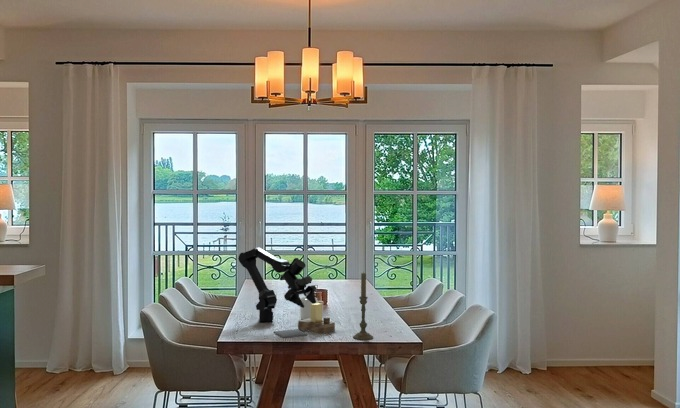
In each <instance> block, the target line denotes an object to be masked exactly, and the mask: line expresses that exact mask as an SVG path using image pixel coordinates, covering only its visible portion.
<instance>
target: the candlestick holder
mask: <svg viewBox="0 0 680 408" xmlns="http://www.w3.org/2000/svg"><path fill="white" fill-rule="evenodd" d="M360 280H361V282H360V284H361V285H360V296H359V303H360V305H361V309H360V311H361V321H360V322H359V324H358V325H359V327H360V330H359V332H357V333H355V334H354V335H353V337H352V338H353V339H354V340H357V341H359V340H360V341H369V340H373V339H374V336H373V335H371V334H370V333H369V332H367V331H366V328H367V325H368V323H367V322H366V319H365V318H366V310H367V309H366V304H367V303H368V296H367V273H365V272H364V271H363V272H361V274H360Z"/></svg>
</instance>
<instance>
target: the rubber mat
mask: <svg viewBox="0 0 680 408" xmlns="http://www.w3.org/2000/svg"><path fill="white" fill-rule="evenodd" d="M273 334H275V335H276V336H278V337H280V338H282V339H288V338H289V339H290V338H296V337H299V338H300V337H306V336H308V334H307V333H306V332H303V330H300V329H298V328H296V329H294V328H293V329H287V330H286V329H285V330H277V331H276V330H274V331H273Z"/></svg>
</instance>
